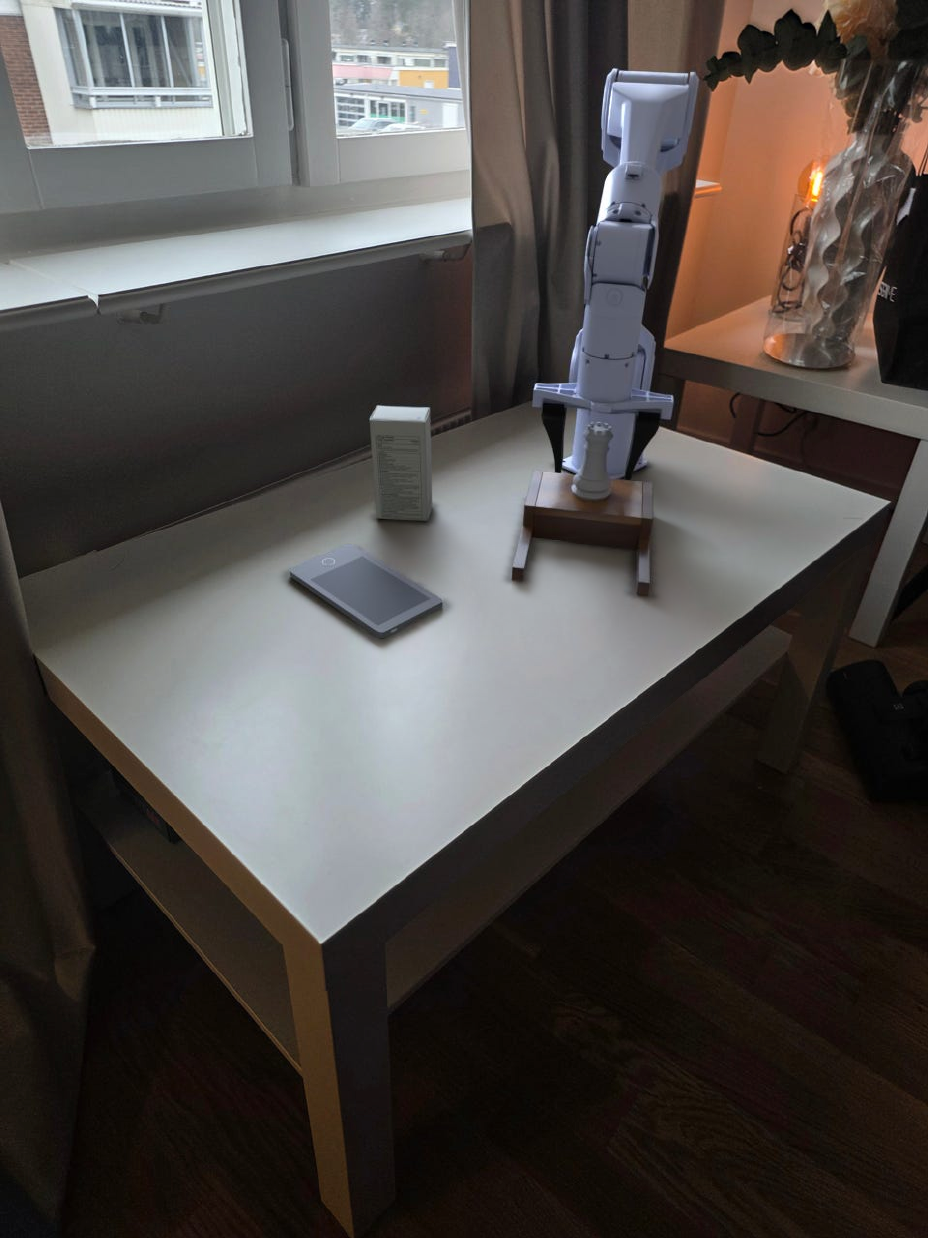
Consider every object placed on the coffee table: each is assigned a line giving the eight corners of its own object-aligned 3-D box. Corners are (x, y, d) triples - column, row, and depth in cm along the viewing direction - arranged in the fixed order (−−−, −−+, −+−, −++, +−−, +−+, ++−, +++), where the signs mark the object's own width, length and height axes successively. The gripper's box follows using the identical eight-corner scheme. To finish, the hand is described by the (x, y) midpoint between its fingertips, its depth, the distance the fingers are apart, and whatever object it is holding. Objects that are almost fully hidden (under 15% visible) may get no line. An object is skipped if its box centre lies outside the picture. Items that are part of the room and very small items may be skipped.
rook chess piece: (585, 505, 92) (594, 437, 87) (563, 488, 95) (570, 422, 91) (618, 497, 94) (628, 430, 89) (595, 481, 97) (604, 415, 92)
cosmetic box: (433, 505, 100) (433, 406, 93) (428, 522, 96) (428, 421, 89) (379, 501, 100) (376, 402, 93) (373, 518, 97) (368, 417, 89)
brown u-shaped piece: (647, 595, 85) (654, 561, 83) (511, 579, 87) (513, 546, 85) (647, 512, 100) (652, 482, 97) (530, 500, 101) (533, 470, 99)
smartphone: (446, 606, 82) (446, 600, 82) (381, 640, 78) (381, 634, 77) (351, 547, 91) (350, 542, 90) (287, 575, 86) (287, 569, 86)
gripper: (533, 356, 83) (524, 481, 91) (682, 369, 81) (659, 495, 89) (540, 335, 89) (531, 454, 96) (680, 347, 87) (658, 467, 95)
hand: (593, 472), depth 93 cm, fingers open, 7 cm apart
